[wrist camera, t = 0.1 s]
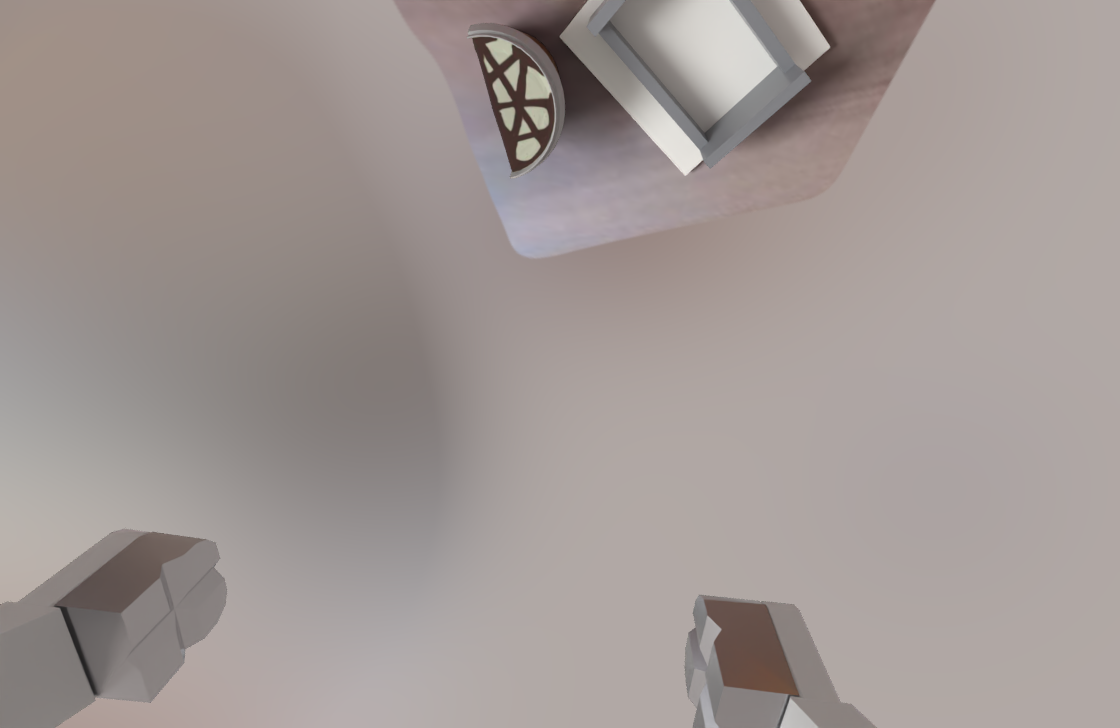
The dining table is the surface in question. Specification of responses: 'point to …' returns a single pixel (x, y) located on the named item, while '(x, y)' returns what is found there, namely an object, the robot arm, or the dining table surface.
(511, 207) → the dining table surface
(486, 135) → the dining table surface
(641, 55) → the slot stand
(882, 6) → the dining table surface
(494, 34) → the food container
